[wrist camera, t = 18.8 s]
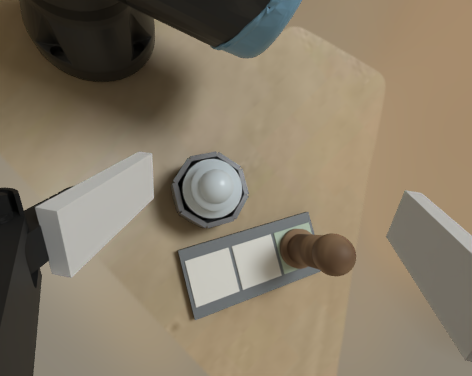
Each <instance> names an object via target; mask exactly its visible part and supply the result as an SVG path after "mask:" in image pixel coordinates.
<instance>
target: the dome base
mask: <svg viewBox="0 0 472 376" xmlns="http://www.w3.org/2000/svg"><path fill="white" fill-rule="evenodd" d="M206 159H218V160H221V161H224V162H226V163H228V164H229V165H230V166H232V167H233V168H234V169H235V171H236V172H237V174H238V175H239V177H240V180H241V184H242V195H241V199H240V201H239V203H238V205H237V206H236V208H235V209H234V210H233V211H232V212H231V213H229V214H228V215H226V216H223V217H220V218H203V217H200V216H198V215H196V214H194V213H193V212H192V211H191V210H189V208H188V207H187V206H186V204H185V202H184V200H183V197H182V183H183V180H184V178H185V176H186V174H187V172H188V171H189V170H190V168H191V167H192V166H194V165H195V164H196V163H198V162H200V161H202V160H206ZM240 167H241V166H239V165H238V164H236V163H235V162H233V161H232V160H230V159H229V158H227V157H226V156H224V155H222V154H221V153H219V152H218V153H217V152H211V153H206V154H200V155H195V156H190V157H189V158H187V160H186V162H185V163H184V165H183V166H182V168H181V169H180V171H179V172H178V174H177V175H176V177H175V179H174V180H173V182H172V186H171V190H172V194H173V200H174V203H175V206H176V210H177V213H178V212H179V215H180V216H182V217H184V218H185V219H187V220H188V221H190V222H192V223H194V224H196V225H197V226H199V227H201V228H211V227H214V226H218V225H221V224H225V223H228V222H232V221H234V219H236V218H237V217H238V215H239V213H240V211H241V209H242V207H243V206H244V204H245V202H246V200H247V198H248V197H249V196H247V194H249V192H248V189H247V185H246V181H245V177H244V173H243V169H240Z"/></svg>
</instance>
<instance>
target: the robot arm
mask: <svg viewBox="0 0 472 376" xmlns="http://www.w3.org/2000/svg"><path fill="white" fill-rule="evenodd" d="M301 1H302V0H19V2H20V8H21V14H22V19H23V22H24V25H25V27H26V30H27V32H28V34H29V35H30V37H31V39H32V40H33V42H34V43H35V45H36V46H37V47H38V49H39V50H40V52H41V53H42V54H43V55H44V56H45V58H46V59H48V60H49V61H50V62H51V63H52V64H53V65H55V66H56V67H57V68H59V69H61V70H62V71H64V72H66V73H68V74H70V75H72V76H75V77H78V78H81V79H85V80H90V81H114V80H119V79H122V78H125V77H127V76H130V75H132V74H133V73H135V72H137V71H138V70H139V69H140V68H142V67H143V66H144V65H145V63H146V62H147V61H148V59H149V58H150V56H151V54H152V51H153V48H154V42H155V25H154V19H156V20H158V21H160V22H162V23H165V24H167V25H169V26H171V27H173V28H175V29H177V30H179V31H181V32H183V33H185V34H188V35H190V36H192V37H194V38H196V39H198V40H200V41H202V42H204V43H206V44H208V45H210V46H211V47H212V48H213V49H217V50H223V51H226V52H228V53H231V54H233V55H235V56H238V57H240V58H253V57H256V56H258V55H260V54H261V53H263V52H264V51H265V50H266V49H267V48H268V47H269V46H270V45H271V44H272V43H273V42H274V41H275V40H276V38H277V37H278V36H279V35H280V33H281V32H282V31H283V29H284V28H285V26H286V25H287V24H288V22H289V21H290V19H291V18H292V16H293V15H294V13H295V11H296V10H297V8H298V7H299V5H300V3H301ZM153 18H154V19H153ZM153 199H154V186H153V161H152V153H147V152H140V151H139V152H137V153H135V154H133V155H131V156H129V157H128V158H126V159H124V160H122V161H120V162H118V163H116V164H115V165H113V166H111V167H109V168H107V169H105V170H103V171H101V172H100V173H98V174H96V175H94V176H92V177H90V178H88V179H87V180H85V181H83V182H81V183H79V184H77V185H75V186H72V187H69V188H66V189H64V190H63V191H61V192H59V193H58V194H55V195H53V196H51V197H50V198H49V199H46V200H44V201H42V202H40V203H38V204H36V205H34V206H32V207H30V208H28V209H27V210H25V211H24V210H23V207H22V203H21V200H20V196H19V193H18V191H17V190H15V189H13V188H0V376H33V369H34V359H35V348H36V337H37V324H38V313H39V302H40V289H41V279H42V275H41V271H40V267H41V266H43V265H44V264H45V263H46V262H47V261H49V264H50V268H51V272H52V274H55V275H61V276H65V277H70V278H72V277H73V276H74V275H75V274H76V273H77V272H78V271H79V270H80V269H81V268H82V267H83V266H84V265H85V264H86V263H87V262H88V261H89V260H90V259H91V258H92V257H93V256H94V255H95V254H97V253H98V252H99V251H100V250H101V249H102V248H103V247H104V246H105V245H106V244H107V243H108V242H109V241H110V240H111V239H112V238H113V237H114V236H115V235H116V234H117V233H118V232H119V231H120V230H121V229H122V228H123V227H125V226H126V225H127V224H128V223H129V222H130V221H131V220H132V219H133V218H134V217H135V216H136V215H137V214H138V213H139V212H140V211H141V210H142V209H143V208H144V207H145V206H146V205H147V204H148V203H149V202H150V201H152V200H153ZM386 237H387V239H388V240H389V242H390V243H391V245H392V246H393V248H394V250H395V251H396V253H397V254H398V256H399V258H400V259H401V261H402V262H403V264H404V265H405V267H406V269H407V270H408V272H409V273H410V275H411V276H412V278H413V280H414V281H415V283H416V284H417V286H418V287H419V289H420V291H421V292H422V294H423V295H424V297H425V298H426V300H427V301H428V303H429V305H430V306H431V308H432V309H433V311H434V312H435V314H436V316H437V317H438V319H439V320H440V322H441V323H442V325H443V326H444V328H445V330H446V331H447V333H448V334H449V336H450V337H451V339H452V341H453V342H454V343H455V345H456V347H457V348H458V350H459V352H460V353H461V355H462V356H463V357H464V359H465V360H467V361H471V362H472V235H470V234H469V233H468V232H467V231H466V230H465V229H463V228H462V227H461V226H460V225H459V224H458V223H456V222H455V221H454V220H453V219H452V218H450V217H449V216H448V215H447V214H446V213H445V212H443V211H442V210H441V209H440V208H439V207H438V206H436V205H435V204H434V203H433V202H432V201H430V200H429V199H428V198H427V197H426V196H425V195H423V194H422V193H419V192H412V191H404V194H403V197H402V199H401V201H400V204H399V206H398V209H397V211H396V214H395V216H394V219H393V221H392V224H391V226H390V228H389V231H388V233H387V236H386Z"/></svg>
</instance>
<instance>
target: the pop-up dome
mask: <svg viewBox="0 0 472 376" xmlns="http://www.w3.org/2000/svg"><path fill="white" fill-rule="evenodd" d="M241 195H242V184H241V180H240V177H239V175H238V174H237V172H236V171H235V169H234V168H233V167H232V166H230V165H229V164H228V163H226V162H224V161H221V160H218V159H206V160H202V161H200V162H198V163H196V164H195V165H194V166H192V167H191V168H190V170H189V171H188V172H187V174H186V176H185V178H184V180H183V183H182V197H183V200H184V202H185V204H186V206H187V207H188V208H189V210H191V211H192V212H193V213H194V214H196V215H198V216H200V217H203V218H220V217H223V216H226V215H228V214H229V213H231V212H232V211H233V210H234V209H235V208H236V206H237V205H238V203H239V201H240V199H241Z"/></svg>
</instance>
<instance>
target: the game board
mask: <svg viewBox="0 0 472 376" xmlns="http://www.w3.org/2000/svg"><path fill="white" fill-rule="evenodd" d="M292 229H304V230H307V231H309V232H310V233H311V234H312V235H314V231H313V228H312V224H311V220H310V217H309V213H308V212H304V213H301V214H297V215H294V216H291V217H287V218H284V219H281V220H277V221H274V222H271V223H267V224H264V225H261V226H257V227H254V228H250V229H247V230H244V231H240V232H237V233H234V234H230V235H227V236H224V237H220V238H217V239H214V240H210V241H207V242H204V243H200V244H197V245H194V246H190V247H187V248H183V249H180V250H178V253H179V257H180V262H181V266H182V270H183V274H184V278H185V282H186V286H187V290H188V294H189V299H190V303H191V307H192V311H193V315H194V319H195V320H197V319H200V318H202V317H205V316H207V315H210V314H212V313H215V312H218V311H220V310H223V309H225V308H228V307H230V306H233V305H235V304H238V303H241V302H243V301H246V300H248V299H251V298H253V297H256V296H258V295H261V294H264V293H266V292H269V291H271V290H274V289H276V288H279V287H281V286H284V285H287V284H289V283H292V282H294V281H297V280H299V279H302V278H304V277H307V276H310V275H312V274H315V273H317V272H320V270H319V269H315V268H312V267H306V268H303V269H297V268H294V267H291V266H289V265H287V264H286V263H285V262H284V260H283V259H282V257H281V254H280V242H281V239H282V237H283V236H284V234H285V233H286V232H288V231H289V230H292Z"/></svg>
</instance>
